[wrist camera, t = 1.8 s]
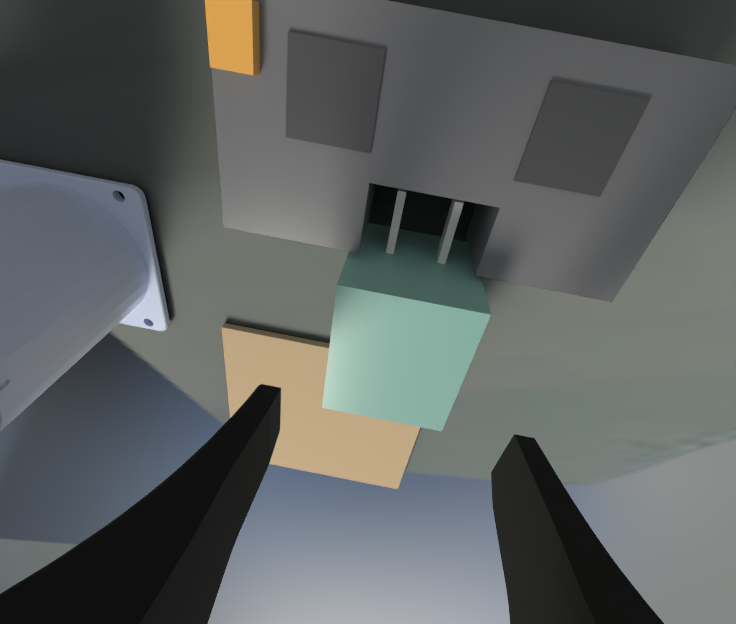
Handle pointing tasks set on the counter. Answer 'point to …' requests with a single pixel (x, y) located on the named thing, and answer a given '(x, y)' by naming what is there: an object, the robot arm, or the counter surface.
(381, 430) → the cork mat
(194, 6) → the counter surface
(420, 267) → the charger
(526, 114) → the power strip
